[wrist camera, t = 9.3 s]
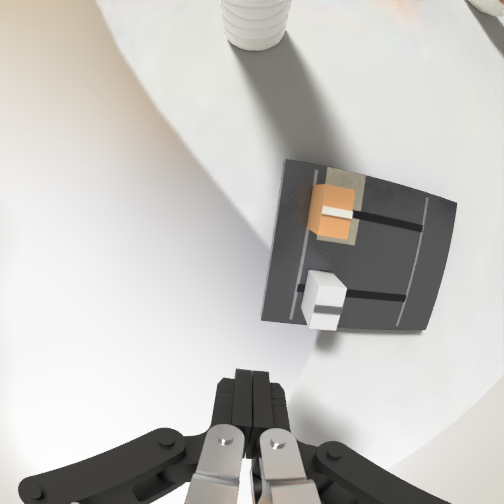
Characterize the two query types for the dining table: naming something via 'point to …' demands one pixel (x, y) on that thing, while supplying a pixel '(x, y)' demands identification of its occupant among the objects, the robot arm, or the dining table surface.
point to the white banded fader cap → (323, 300)
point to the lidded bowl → (489, 6)
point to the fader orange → (331, 211)
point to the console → (360, 250)
